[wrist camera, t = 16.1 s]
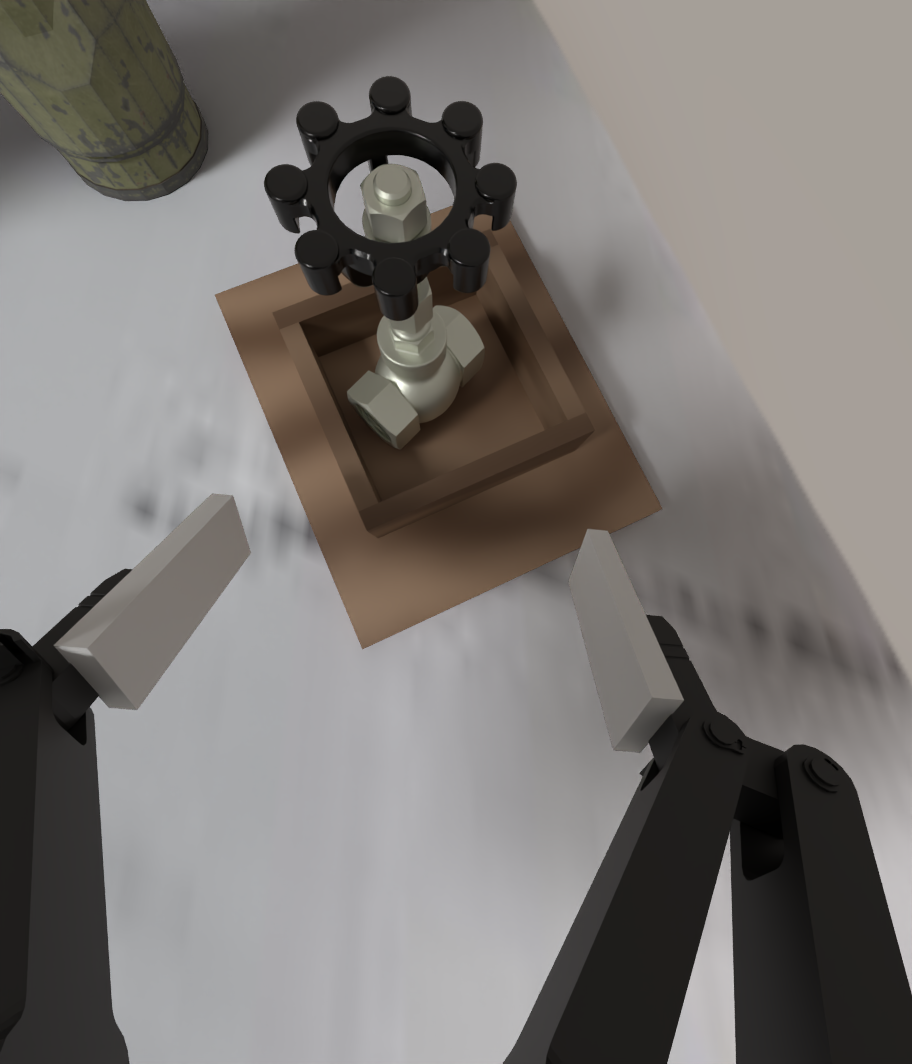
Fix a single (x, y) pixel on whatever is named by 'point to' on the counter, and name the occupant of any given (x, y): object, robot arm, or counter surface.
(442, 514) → the dock board
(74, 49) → the thermos
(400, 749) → the counter surface
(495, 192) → the valve
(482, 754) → the counter surface
